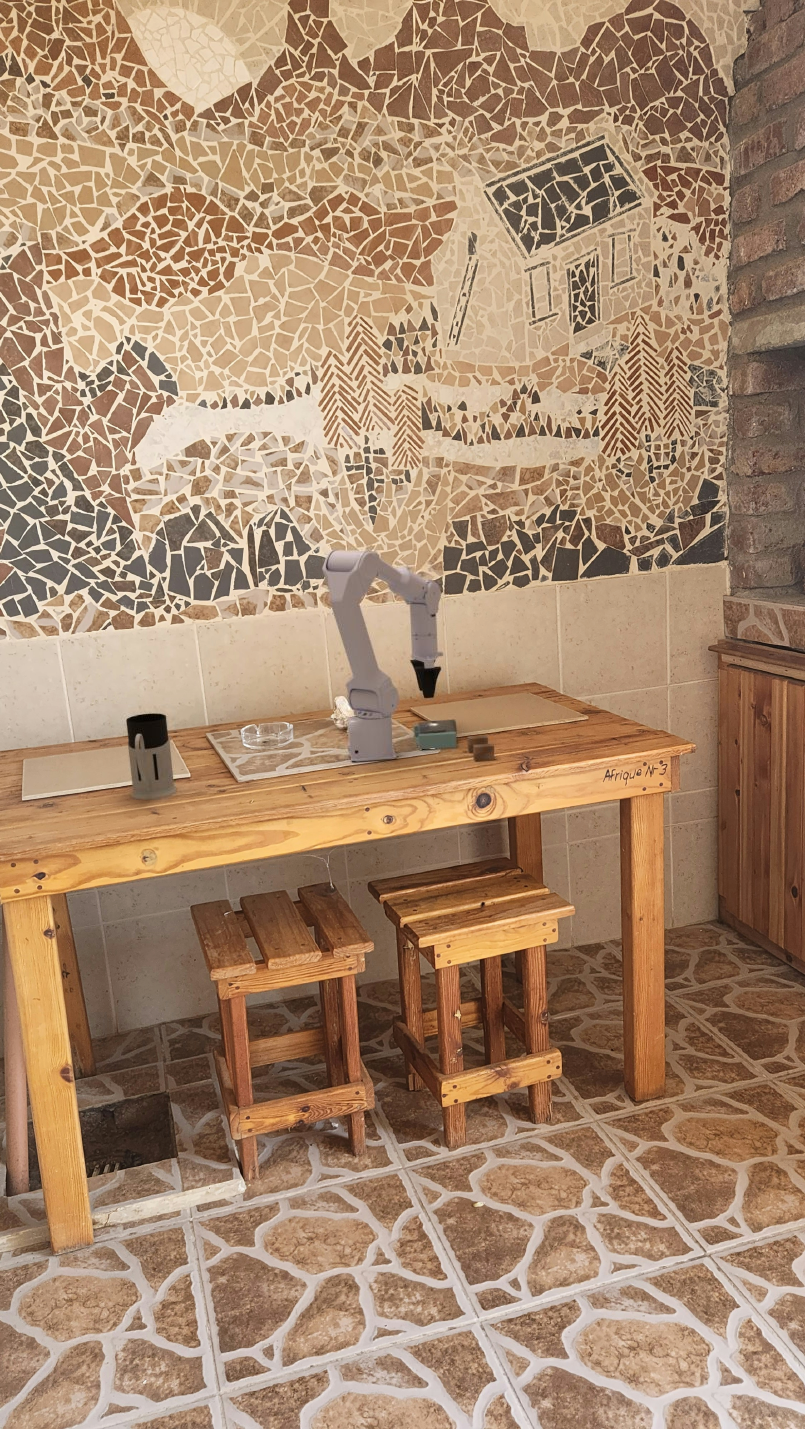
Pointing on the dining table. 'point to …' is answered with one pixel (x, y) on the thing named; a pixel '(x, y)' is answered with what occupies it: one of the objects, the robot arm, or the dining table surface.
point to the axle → (437, 726)
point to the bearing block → (480, 748)
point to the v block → (435, 740)
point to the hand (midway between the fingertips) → (426, 694)
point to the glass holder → (150, 757)
